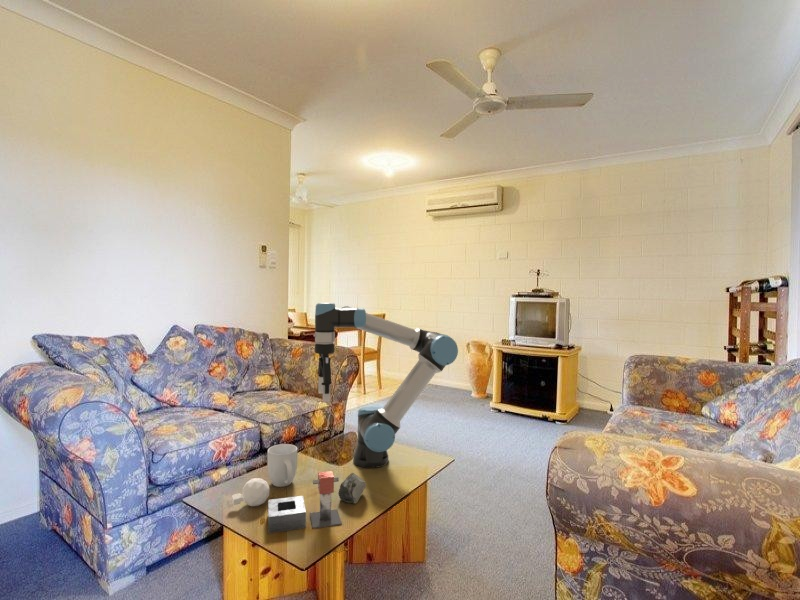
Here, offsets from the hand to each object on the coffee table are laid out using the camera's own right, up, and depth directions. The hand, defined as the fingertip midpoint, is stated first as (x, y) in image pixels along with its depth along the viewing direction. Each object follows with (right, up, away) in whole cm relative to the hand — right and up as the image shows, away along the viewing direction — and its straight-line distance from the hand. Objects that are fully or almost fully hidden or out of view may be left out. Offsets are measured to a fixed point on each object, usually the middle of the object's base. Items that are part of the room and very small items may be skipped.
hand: (324, 397), depth 167 cm
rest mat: (+6, -33, -29) cm, 44 cm away
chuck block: (-7, -32, -30) cm, 45 cm away
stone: (+13, -33, -16) cm, 39 cm away
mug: (-15, -32, -5) cm, 35 cm away
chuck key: (+6, -32, -29) cm, 43 cm away
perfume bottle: (-21, -32, -20) cm, 43 cm away
